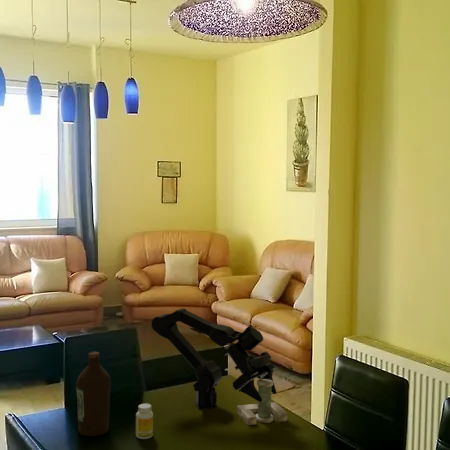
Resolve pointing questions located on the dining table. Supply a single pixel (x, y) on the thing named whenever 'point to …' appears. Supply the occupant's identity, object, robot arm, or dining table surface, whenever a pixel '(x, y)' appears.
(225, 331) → the robot arm
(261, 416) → the bobbin
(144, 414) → the supplement bottle
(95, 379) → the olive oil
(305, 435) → the dining table surface
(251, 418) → the notched board
